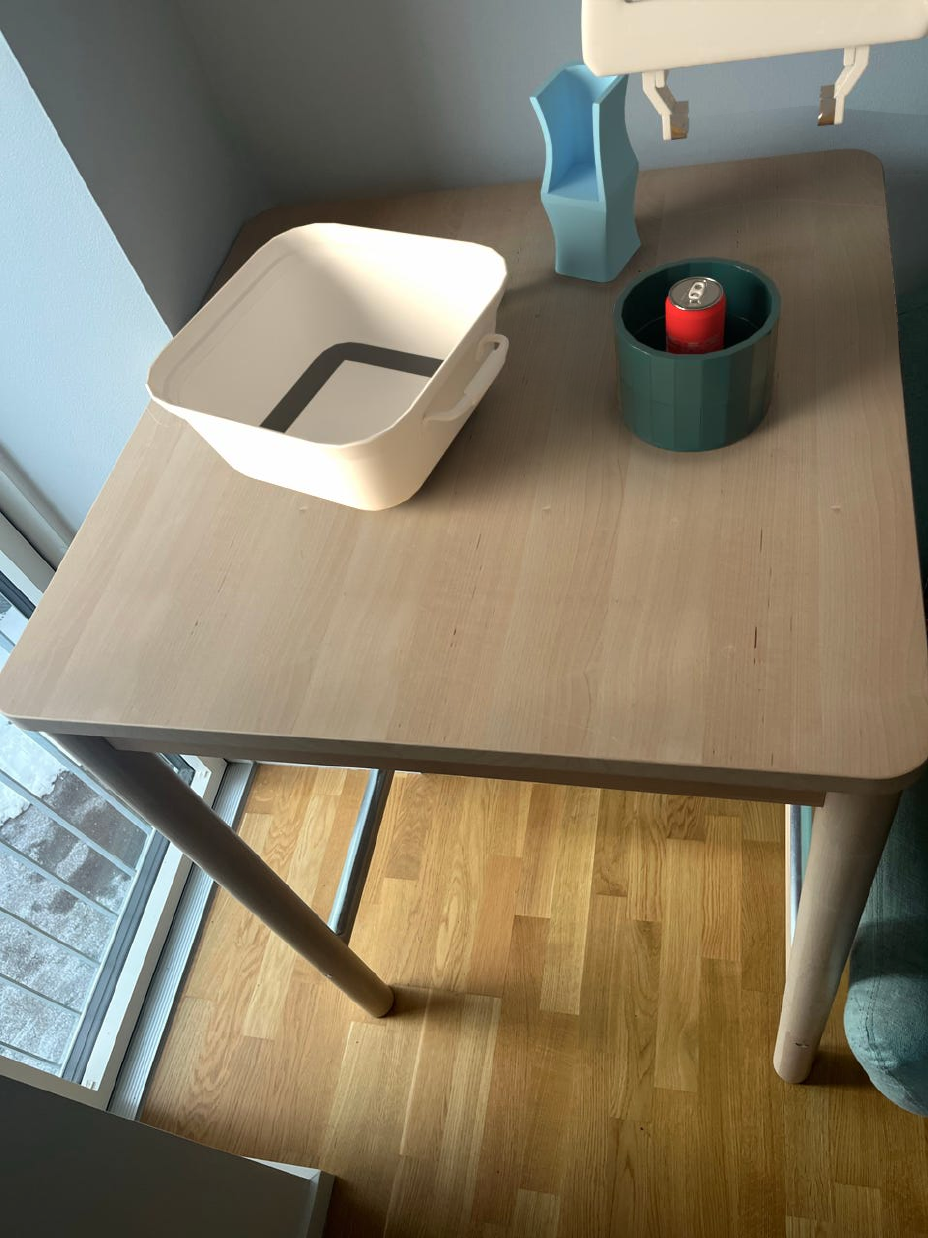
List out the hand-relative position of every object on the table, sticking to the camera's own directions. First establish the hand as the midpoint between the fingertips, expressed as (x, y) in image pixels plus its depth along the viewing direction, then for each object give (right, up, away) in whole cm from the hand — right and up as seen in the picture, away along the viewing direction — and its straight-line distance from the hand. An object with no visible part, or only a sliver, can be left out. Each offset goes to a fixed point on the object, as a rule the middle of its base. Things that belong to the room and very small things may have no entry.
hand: (751, 128), depth 58 cm
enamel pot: (+4, -10, +32) cm, 34 cm away
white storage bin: (-28, -12, +38) cm, 49 cm away
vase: (-3, +11, +49) cm, 50 cm away
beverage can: (+4, -10, +32) cm, 33 cm away
